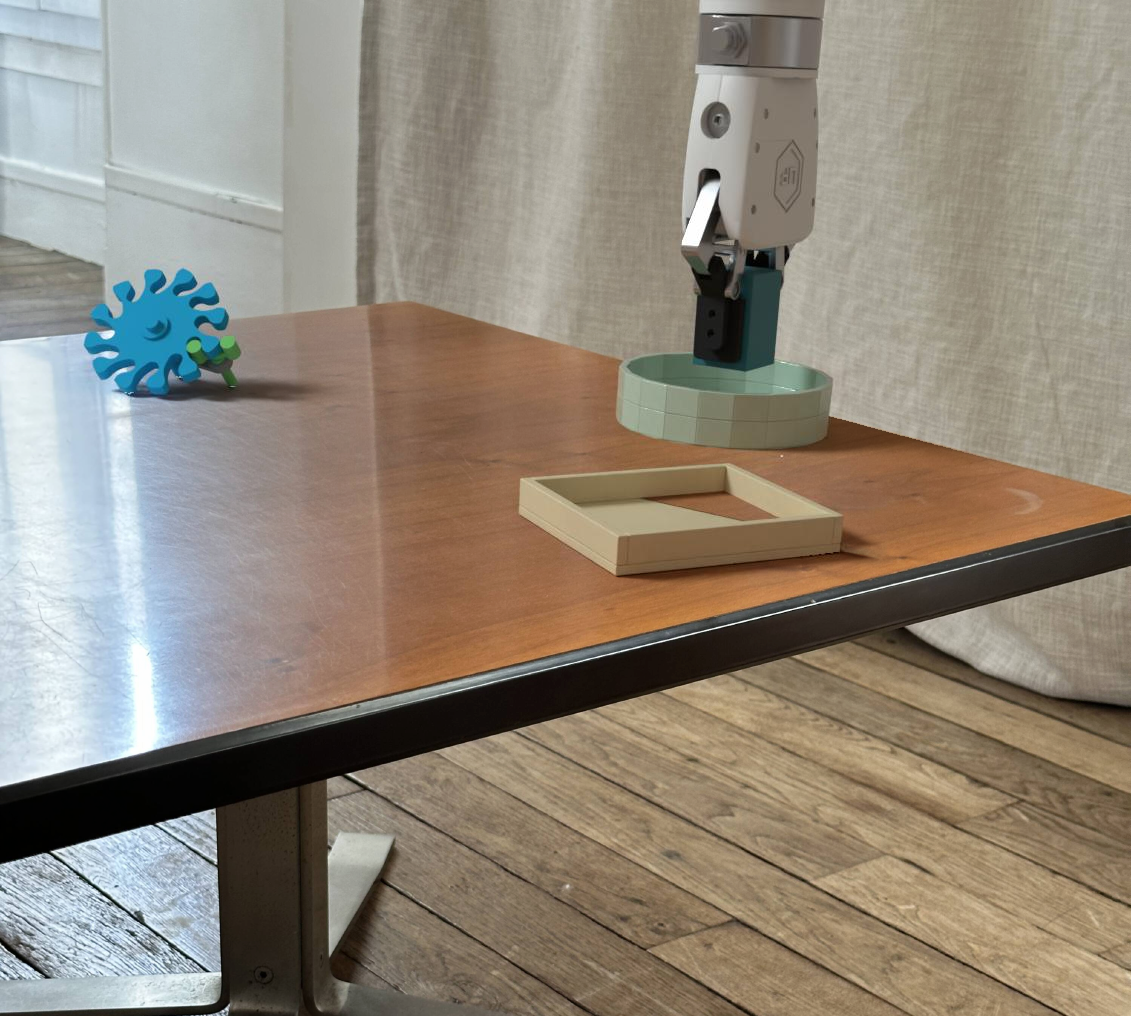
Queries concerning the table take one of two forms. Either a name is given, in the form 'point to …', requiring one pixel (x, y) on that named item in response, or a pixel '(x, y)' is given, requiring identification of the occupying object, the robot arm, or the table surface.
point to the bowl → (723, 402)
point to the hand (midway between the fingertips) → (734, 352)
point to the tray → (675, 518)
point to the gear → (162, 334)
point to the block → (756, 320)
